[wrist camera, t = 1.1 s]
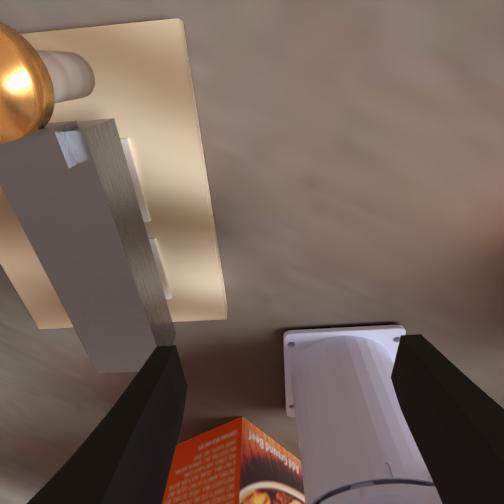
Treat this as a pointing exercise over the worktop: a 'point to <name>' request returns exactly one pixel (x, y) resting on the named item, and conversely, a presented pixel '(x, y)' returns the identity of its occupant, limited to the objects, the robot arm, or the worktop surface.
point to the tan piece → (133, 159)
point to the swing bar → (80, 215)
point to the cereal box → (234, 469)
